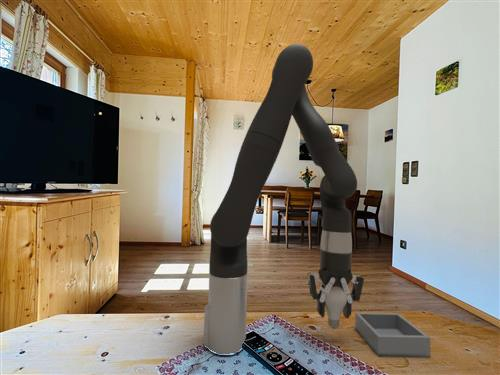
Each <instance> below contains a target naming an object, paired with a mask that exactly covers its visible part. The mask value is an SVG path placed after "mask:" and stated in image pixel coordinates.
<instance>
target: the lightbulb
mask: <svg viewBox="0 0 500 375" xmlns="http://www.w3.org/2000/svg"><path fill="white" fill-rule="evenodd" d="M325 287H326V286H325ZM325 287H324V288H325ZM324 302H325V309H326V311H327V312H326V313H327V317H328V319H327V320H328V322H327V324H328V326H329V327H330V328H331V329H333V330H335V329H338V328H339V327H340V320H341V317H342V316H341V315H342V313H343V308H344V306H345V305H346V303H347V295H346V294H345V292H344V290H343V289H342V288H341V287H337V286H335V287H332V288H331V290H330V292H329V293H328V294H326V295H325V300H324Z"/></svg>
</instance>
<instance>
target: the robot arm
mask: <svg viewBox="0 0 500 375" xmlns="http://www.w3.org/2000/svg"><path fill="white" fill-rule="evenodd" d="M275 60H276V61H275V63H274V65H273V68H272V71H271V72H272V73H271V82H270V85H269V87H268V90H267V92H266V95H265V97H264V99H263V100H262V102H261V104H260V106H259V108H258V109H257V112H256V113H255V115H254V117H253V119H252V121H251V123H250V125H249V127H248V128H247V129H248V130H247V131H246V134H245V136H244V138H243V141H242V142H241V143H242V144H241V146H240V149H239V152H238V155H237V159H236V161H235V165H234V170H233V172H232V173H233V175H232V177H231V182H230V184H229V186H228V188H227V191H226V193H225V195H224V197H223V199H222V201H221V203H220V204H219V206H218V207H217V210H216V211H215V212H214V214H213V216H212V218H211V220H210V223H209V224H210V225H209V230H210V254H209V264H208V265H209V267H208V268H209V269H208V270H209V271H208V272H209V274H208V275H209V276H208V279H209V280H208V303H207V304H206V305H205V306H204V318H203V319H204V320H203V321H204V322H203V326H204V327H203V347H204V346H206V347H208V348H209V349H210V350H212V351H214V352H216V353H222V354H230V353H234V352H237V351H239V350H240V349H241V348H242V344H243V342H244V341H245V339H246V338H247V303H248V302H247V298H248V265H249V264H248V235H249V232H250V228H251V225H252V220H253V216H254V214H255V211H256V210H255V209H256V208H257V204H258V200H259V198H260V195H261V193H262V190H263V189H264V187H265V185H266V182H267V181H268V178H269V177H270V175H271V172H272V170H273V168H274V165H275V163H276V161H277V159H278V156H279V154H280V151H281V149H282V147H283V143H284V140H285V138H286V134H287V132H288V129H289V125H290V122H291V119H292V118H293V119H294V121H295V123H296V125H297V127H298V129H299V132H300V133H301V136H302V138H303V141H304V143H305V145H306V147H307V148H306V149H307V150H308V152H309V155H310V157H311V160H312V162H313V163H314V165H315V166H317V167H319V168H320V169H321V170H322V172H323V174H324V176H322V178H321V180H320V185H319V195H320V197H319V198H320V202H321V205H320V206H321V209H322V227H321V228H322V230H321V236H320V243H319V244H320V257H319V258H320V259H319V260H320V263H319V270H318V272H315V273H314V272H313V273H312V272H307V282H308V288H309V289H308V290H309V294H310V296H311V298H312V299H313V300H317V301H316V302H317V303H316V312H317V313H318V315H319V316H320V318H325V317H326V316H325V315H326V310H325V309H326V306H325V302H324V300H325V295H326V294H328V293H329V292H330V290H331V288H332V287H335V286H337V287H341V288H342V289H343V290H344V292H345V294H346V295H347V303H346V305H345V306H344V308H343V309H342V315H343V317H344V318H345V319H350V316H351V315H352V308H353V307H352V305H353V302H359V301H360V300H361V295H362V291H363V286H364V280H365V279H364V278H363V277H362V276H361V275H359V274H353V273H352V258H353V257H352V256H353V251H352V250H353V238H352V212H351V211H350V210H349V209H348V208H347V206H346V199H348V198H351V197H352V196H353V195H354V194H355V193H356V192H357V189H358V180H357V176H356V173H355V171H354V170H353V168H352V166H351V165H350V164H349V162H348V160H346V158H345V157H344V155H343V154H342V153H341V151H340V150H339V147H338V144H337V142H336V141H337V140H336V139H335V136H334V135H333V132H332V130H331V128H330V126H329V124H328V123H327V122H326V120H325V119H324V118H323V117H322V115H320V113H319V112H318V111H317V110H316V108H315V107H314V105H313V103H312V102H311V100H310V98H309V95H308V92H307V88H306V83H307V81H308V80H309V78H310V77H311V75H312V72H313V68H314V58H313V54H312V53H311V50H310V49H309V48H308V47H307V46H306V45H304V44H301V43H293V44H290V45H288V46H286V47H285V48H284V49H282V50H281V52H280V53H279V54H278V56H277V58H276V59H275ZM318 279H320V280H321V284H320V286H319V290H318V292H317V283H318ZM350 282H352V283H353V284H352V288H351V291H350V289H349V286H348V285H349V284H350ZM325 286H326V287H325ZM324 287H325V288H324Z"/></svg>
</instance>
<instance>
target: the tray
mask: <svg viewBox="0 0 500 375" xmlns="http://www.w3.org/2000/svg"><path fill="white" fill-rule="evenodd" d="M354 315H355V322H354V323H355V325H354V326H355V328H354V330H355V331H356V332H357V333H358V334H359V335H360V336H361V338H362V339H363V340H364V341H365V342H366V343H367V345H368V346H369V347H370V348H371V349H372V351H373V352H374V353H375V354H376V355H377V357H383V358H384V357H387V358H388V357H389V358H391V357H392V358H399V357H400V358H431V337H430V336H428V334H426V333H425V332H424V331H422V330H420V329H419V327H417V326H416V325H414V324H413V323H411V321H409V320H408V319H406V318H405V317H404V316H402V315H401V314H400V313H393V312H391V313H390V312H385V313H384V312H355V314H354Z"/></svg>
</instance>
